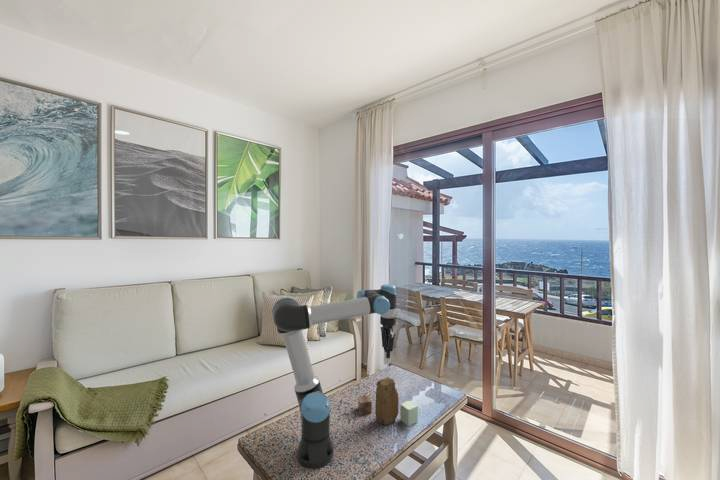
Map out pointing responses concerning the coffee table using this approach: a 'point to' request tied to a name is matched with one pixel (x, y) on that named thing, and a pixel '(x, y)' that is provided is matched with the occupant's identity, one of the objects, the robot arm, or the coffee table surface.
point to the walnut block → (364, 404)
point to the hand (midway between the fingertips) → (386, 363)
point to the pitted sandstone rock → (386, 401)
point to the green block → (409, 413)
